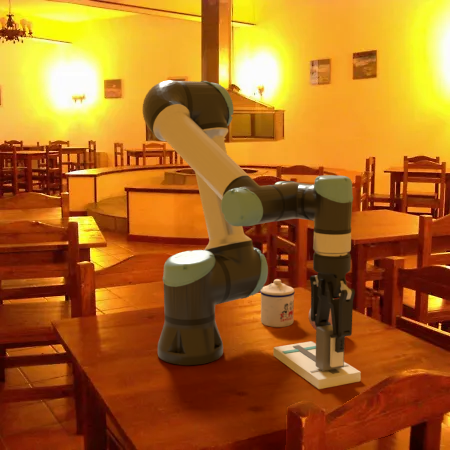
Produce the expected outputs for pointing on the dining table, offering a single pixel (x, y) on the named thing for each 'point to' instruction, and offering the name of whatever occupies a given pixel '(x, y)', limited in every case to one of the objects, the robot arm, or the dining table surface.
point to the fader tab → (324, 348)
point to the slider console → (314, 366)
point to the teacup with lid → (277, 304)
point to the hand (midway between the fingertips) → (329, 361)
